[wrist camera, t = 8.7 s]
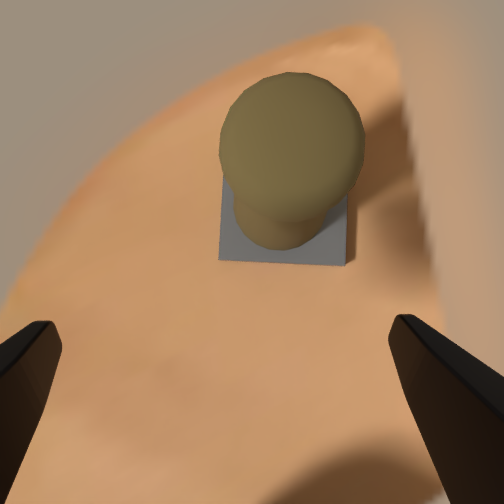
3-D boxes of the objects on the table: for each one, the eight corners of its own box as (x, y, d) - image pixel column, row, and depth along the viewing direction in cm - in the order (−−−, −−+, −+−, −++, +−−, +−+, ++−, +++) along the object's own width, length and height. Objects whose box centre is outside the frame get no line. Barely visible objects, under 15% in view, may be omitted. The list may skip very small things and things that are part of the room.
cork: (336, 168, 22) (409, 57, 11) (316, 260, 21) (370, 245, 10) (244, 149, 22) (223, 22, 11) (223, 239, 21) (178, 202, 11)
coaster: (341, 266, 22) (345, 266, 21) (220, 260, 22) (218, 259, 21) (345, 147, 23) (349, 141, 22) (227, 143, 23) (225, 137, 22)
